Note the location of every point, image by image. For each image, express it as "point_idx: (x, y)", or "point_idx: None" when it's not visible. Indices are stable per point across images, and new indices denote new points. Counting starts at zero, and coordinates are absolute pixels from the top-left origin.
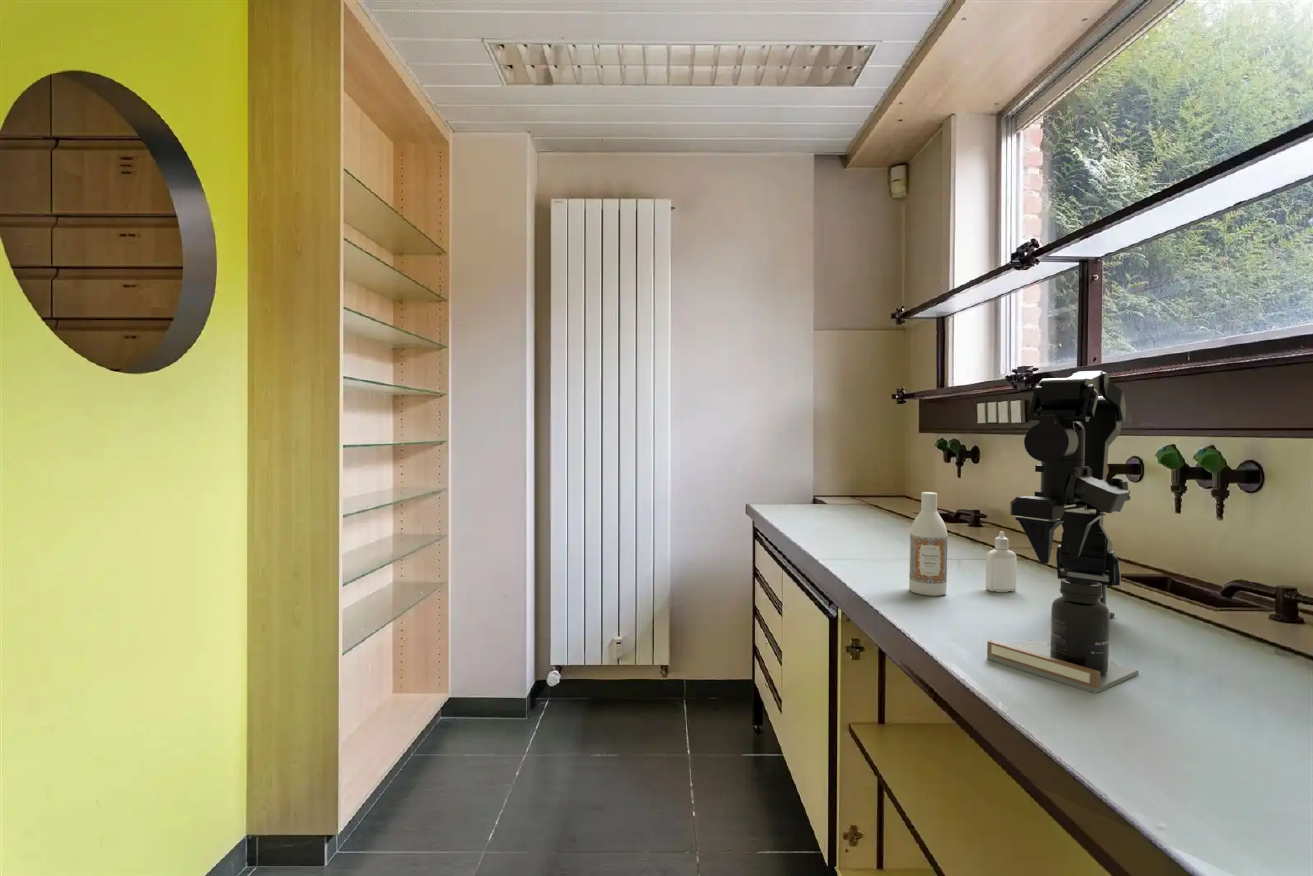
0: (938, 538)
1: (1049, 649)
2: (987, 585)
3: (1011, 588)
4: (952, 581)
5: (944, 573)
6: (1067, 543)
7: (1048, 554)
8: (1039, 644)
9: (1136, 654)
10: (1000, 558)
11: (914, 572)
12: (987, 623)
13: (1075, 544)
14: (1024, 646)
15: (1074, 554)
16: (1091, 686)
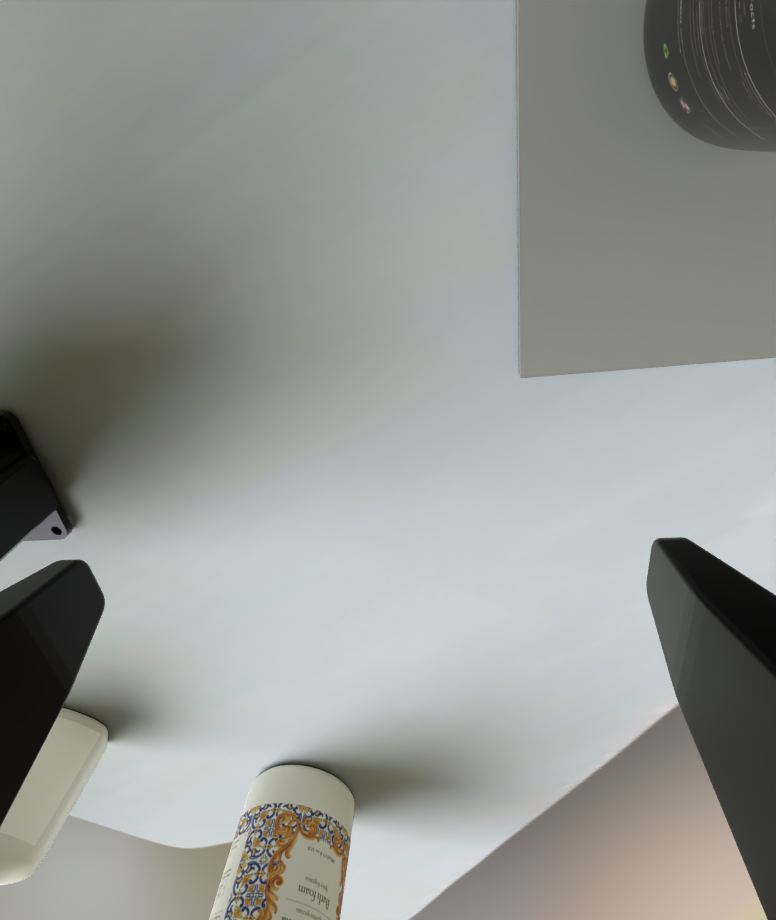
0: None
1: (580, 266)
2: (102, 752)
3: None
4: (141, 809)
5: (269, 838)
6: (48, 726)
7: (768, 594)
8: (547, 329)
9: (212, 55)
10: (12, 836)
11: (345, 874)
12: (421, 576)
13: (9, 673)
14: (631, 343)
15: (83, 595)
16: None
